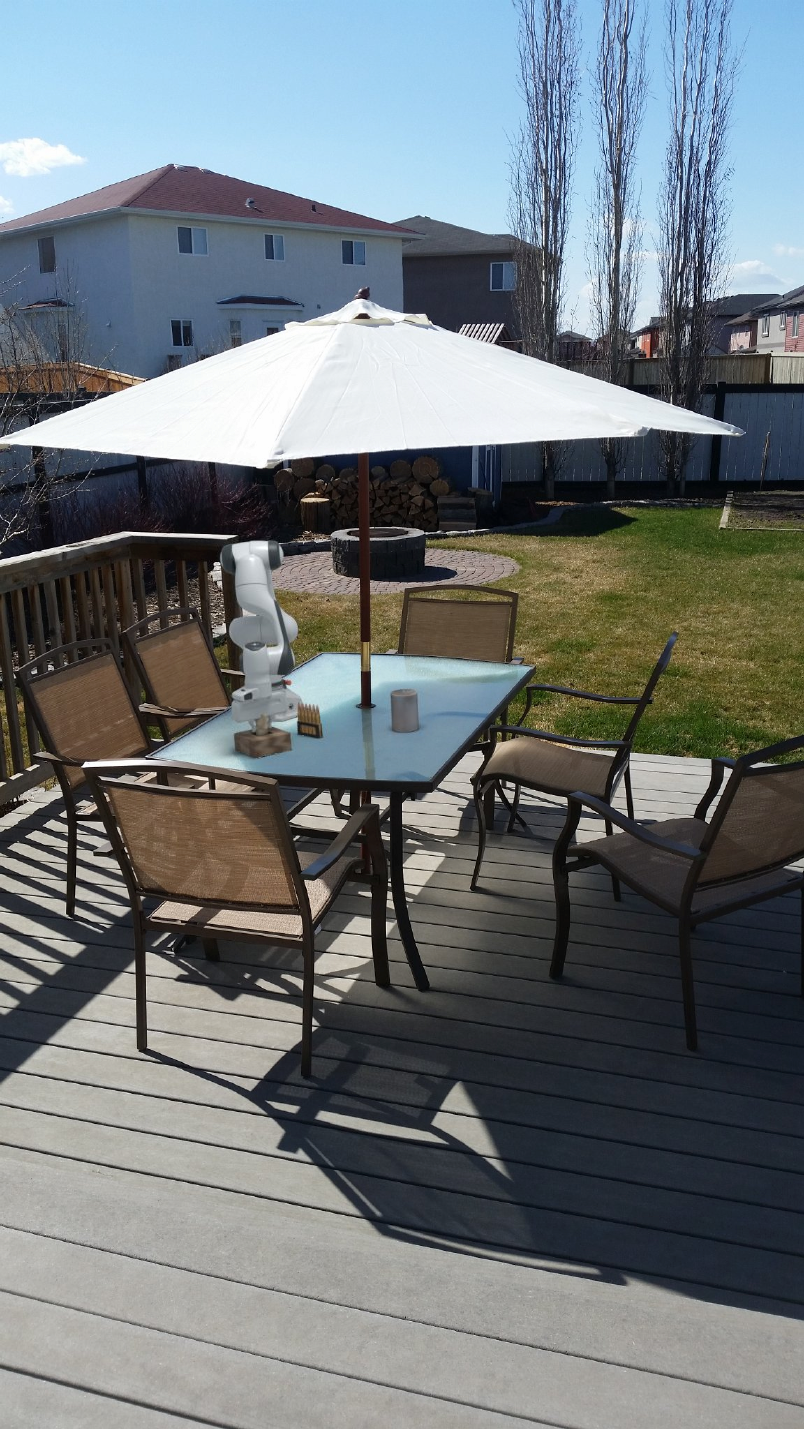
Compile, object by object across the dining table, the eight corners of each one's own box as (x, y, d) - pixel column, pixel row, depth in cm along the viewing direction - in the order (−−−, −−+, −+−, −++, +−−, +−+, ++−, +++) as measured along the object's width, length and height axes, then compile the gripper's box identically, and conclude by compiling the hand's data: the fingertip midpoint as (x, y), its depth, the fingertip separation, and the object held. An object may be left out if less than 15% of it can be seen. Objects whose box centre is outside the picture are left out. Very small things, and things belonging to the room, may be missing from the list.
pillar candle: (395, 725, 388) (393, 685, 384) (421, 725, 386) (419, 685, 382) (389, 733, 379) (387, 692, 375) (416, 733, 377) (414, 692, 373)
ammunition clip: (297, 734, 382) (295, 702, 378) (300, 733, 383) (298, 701, 380) (319, 738, 375) (317, 705, 372) (323, 737, 376) (320, 704, 373)
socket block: (270, 741, 374) (269, 725, 372) (291, 749, 363) (290, 732, 362) (235, 750, 366) (233, 733, 364) (255, 758, 355) (254, 741, 353)
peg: (264, 739, 366) (262, 711, 364) (270, 741, 363) (268, 713, 361) (254, 741, 364) (252, 713, 361) (260, 744, 361) (258, 715, 358)
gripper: (280, 683, 368) (283, 722, 371) (227, 694, 356) (231, 734, 359) (289, 686, 363) (292, 725, 366) (236, 697, 351) (240, 737, 354)
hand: (261, 730), depth 363 cm, fingers closed on peg, 4 cm apart
